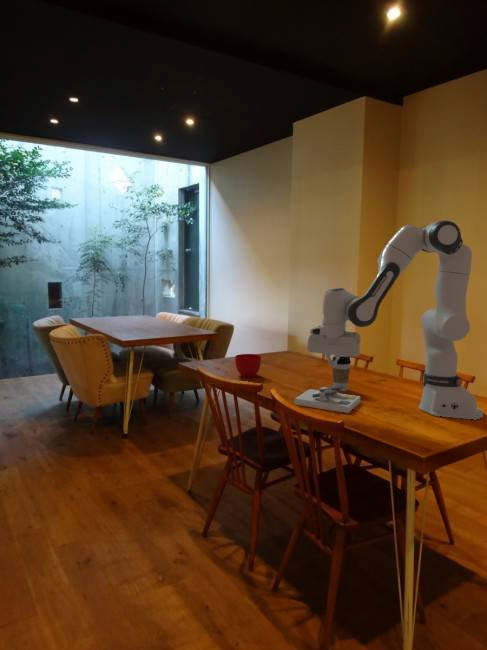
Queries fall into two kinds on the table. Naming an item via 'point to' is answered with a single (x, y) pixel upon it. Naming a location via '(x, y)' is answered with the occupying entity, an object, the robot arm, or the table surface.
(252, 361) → the ceramic cup
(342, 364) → the coffee cup
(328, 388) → the rocker back
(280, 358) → the table surface
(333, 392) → the rocker front
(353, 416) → the table surface
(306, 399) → the switch unit
